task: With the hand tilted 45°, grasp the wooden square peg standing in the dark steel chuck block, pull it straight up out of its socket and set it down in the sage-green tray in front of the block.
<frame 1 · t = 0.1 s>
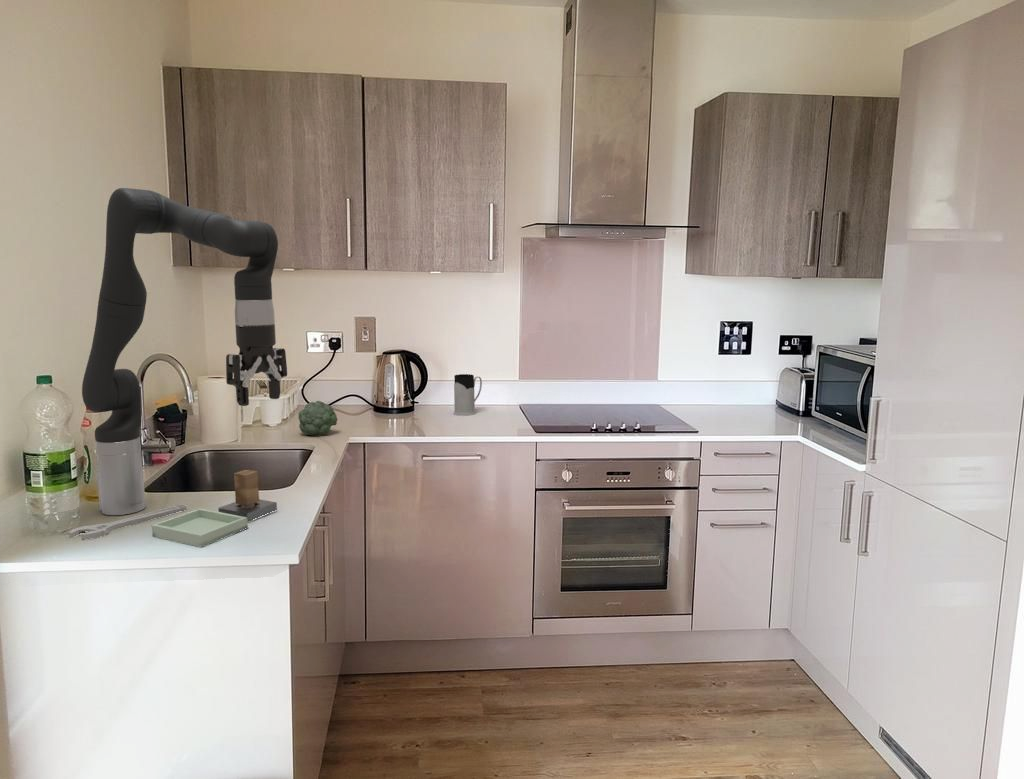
hand: (259, 402, 154), 29 cm above the worktop, tool pointing down, fingers open, 8 cm apart
adjustable wrench: (133, 526, 168), on the worktop
wooden square peg: (247, 493, 174), in the socket block
key tray: (200, 532, 163), on the worktop
grey black mug: (469, 413, 297), on the worktop
vegetable: (317, 434, 260), on the worktop
socket block: (248, 514, 174), on the worktop
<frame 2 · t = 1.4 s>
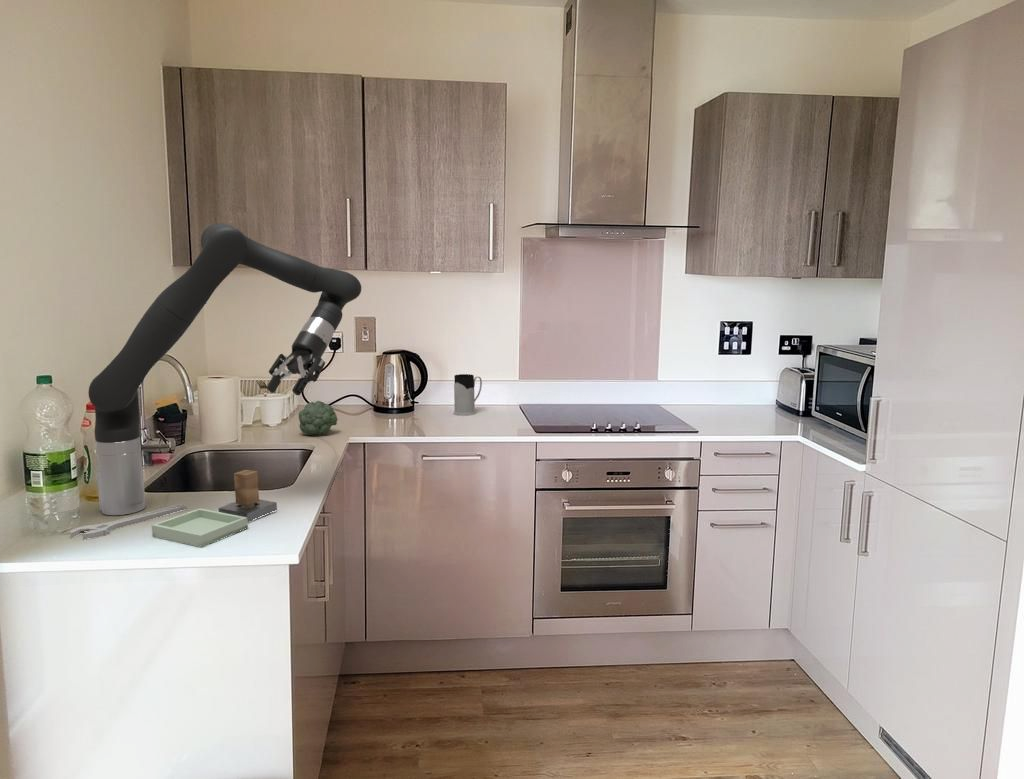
hand: (282, 392, 180), 27 cm above the worktop, tool tilted 45°, fingers open, 8 cm apart
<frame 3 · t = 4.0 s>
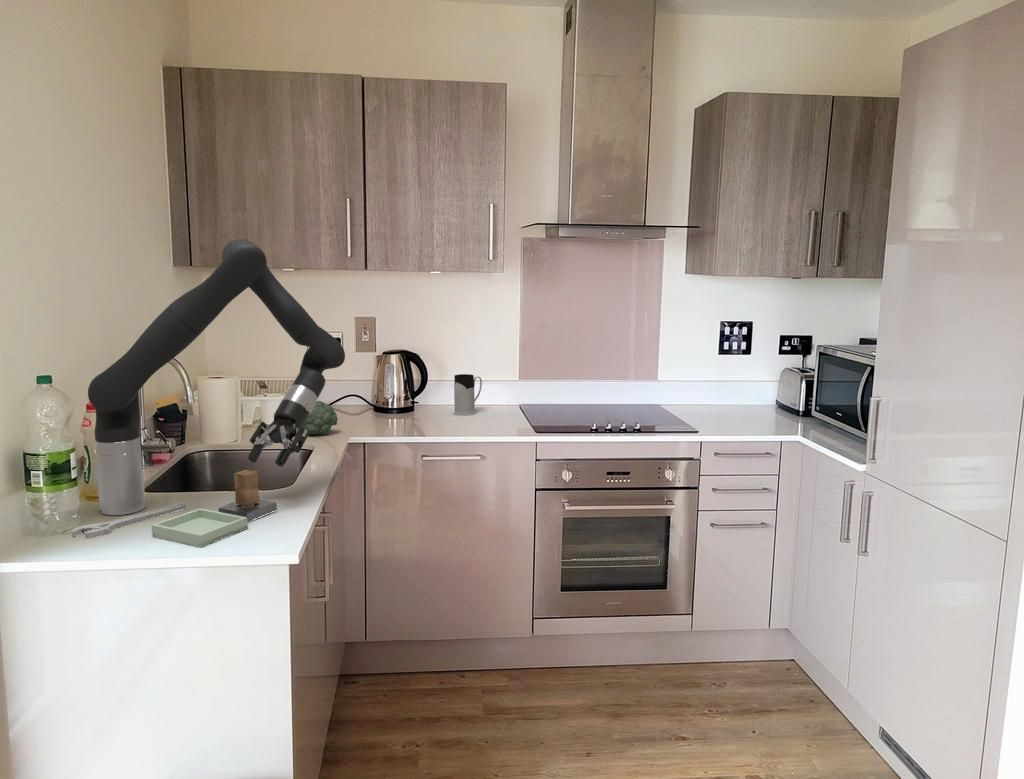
hand: (264, 462, 178), 11 cm above the worktop, tool tilted 45°, fingers open, 8 cm apart
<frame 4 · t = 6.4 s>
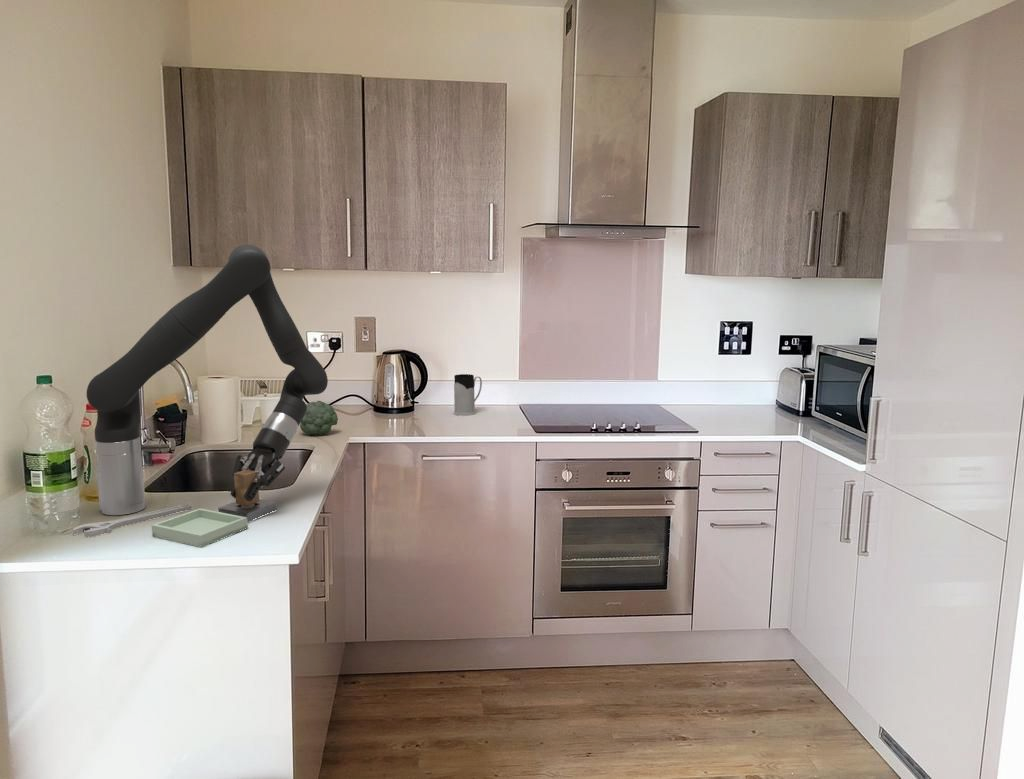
hand: (240, 497, 172), 5 cm above the worktop, tool tilted 45°, fingers closed on wooden square peg, 3 cm apart
wooden square peg: (247, 493, 174), in the socket block, touching gripper
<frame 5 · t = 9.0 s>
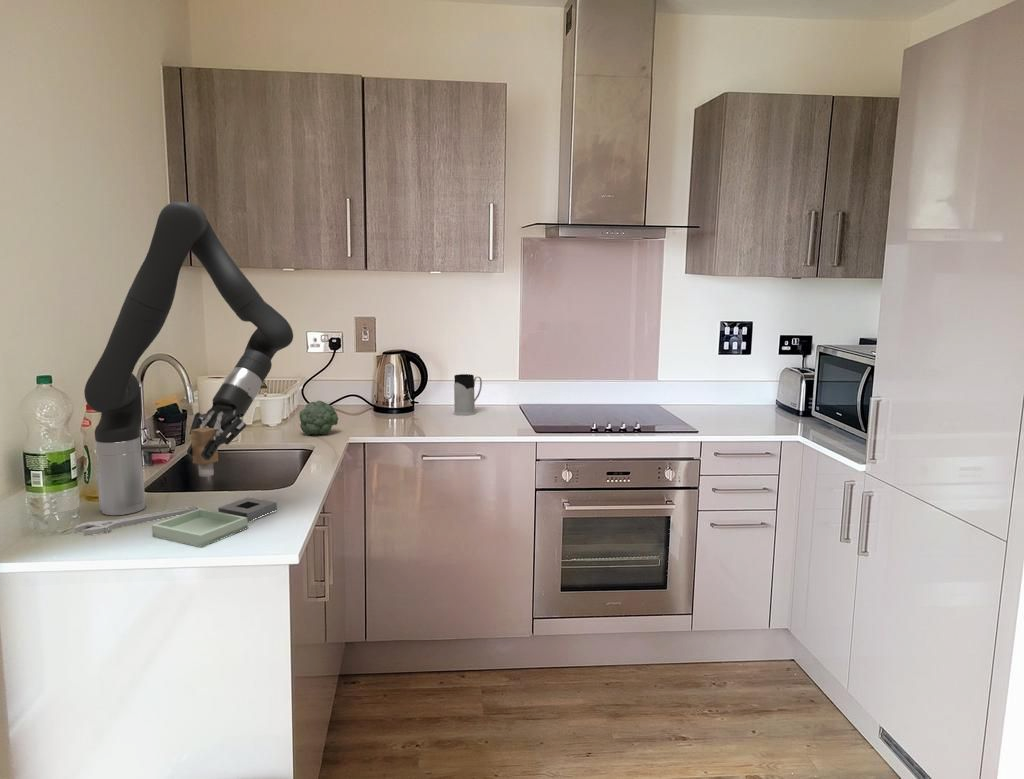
hand: (197, 456, 161), 17 cm above the worktop, tool tilted 45°, fingers closed on wooden square peg, 3 cm apart
wooden square peg: (205, 452, 162), point 17 cm above the worktop, touching gripper
when the fingers open (6 cm above the worktop, at t = 11.6 s): wooden square peg drops 1 cm, resting on key tray.
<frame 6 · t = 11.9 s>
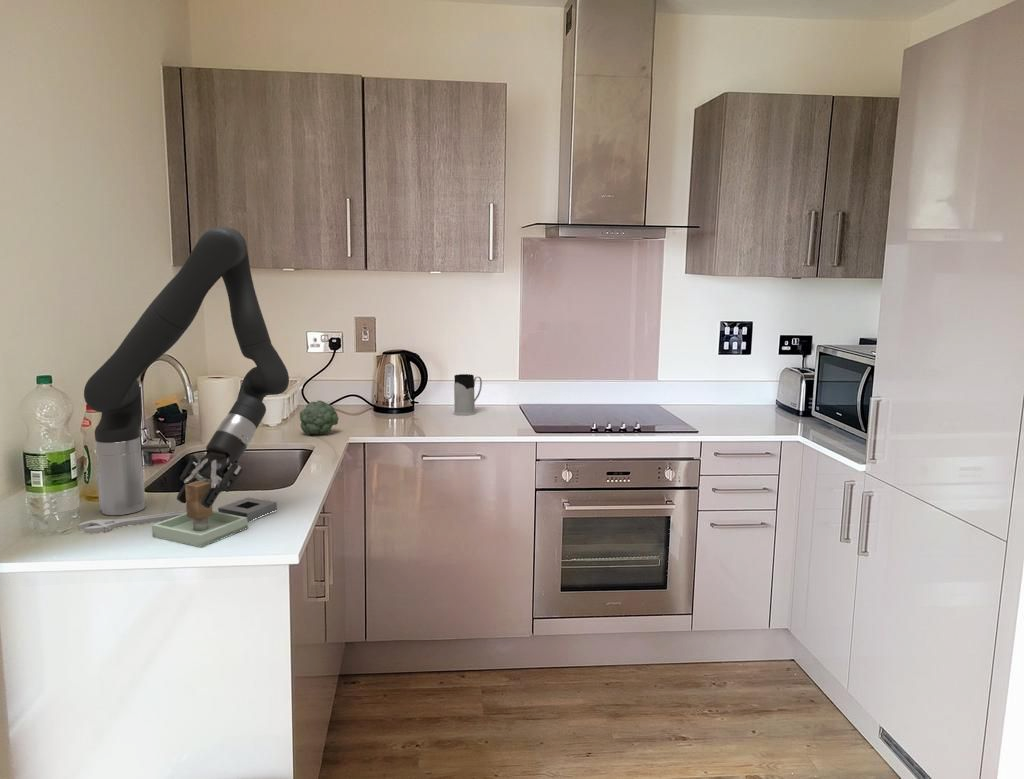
hand: (192, 503, 160), 7 cm above the worktop, tool tilted 45°, fingers open, 6 cm apart
wooden square peg: (199, 506, 162), in the key tray, point 6 cm above the worktop
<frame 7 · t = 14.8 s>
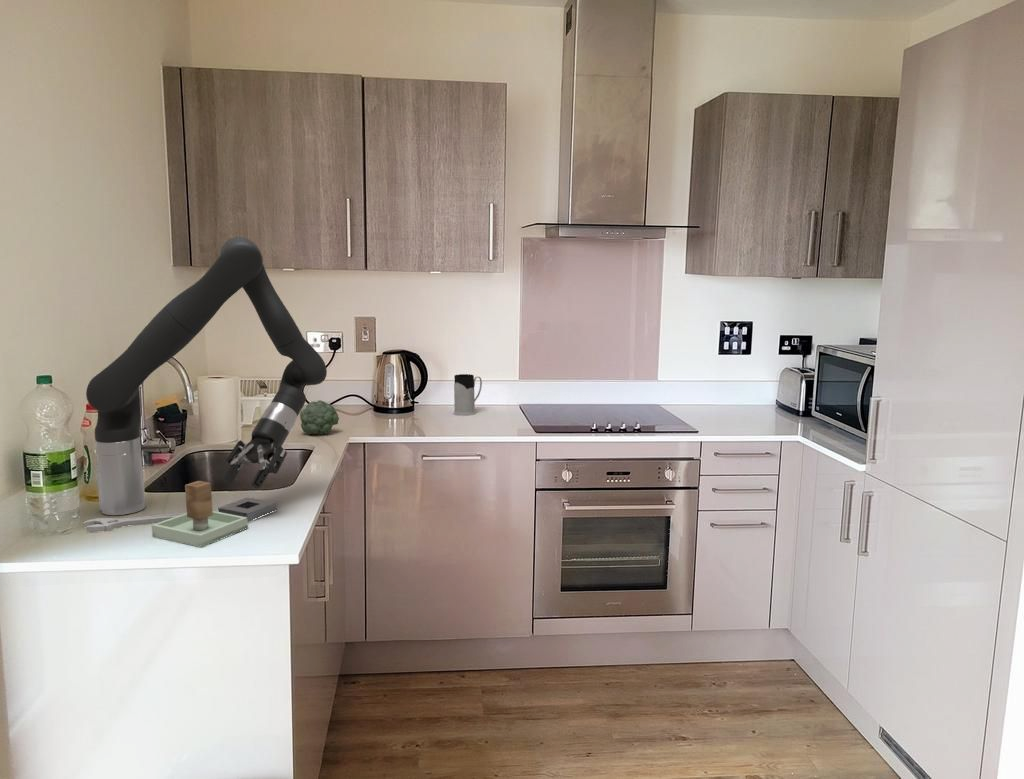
hand: (240, 484, 172), 8 cm above the worktop, tool tilted 45°, fingers open, 8 cm apart
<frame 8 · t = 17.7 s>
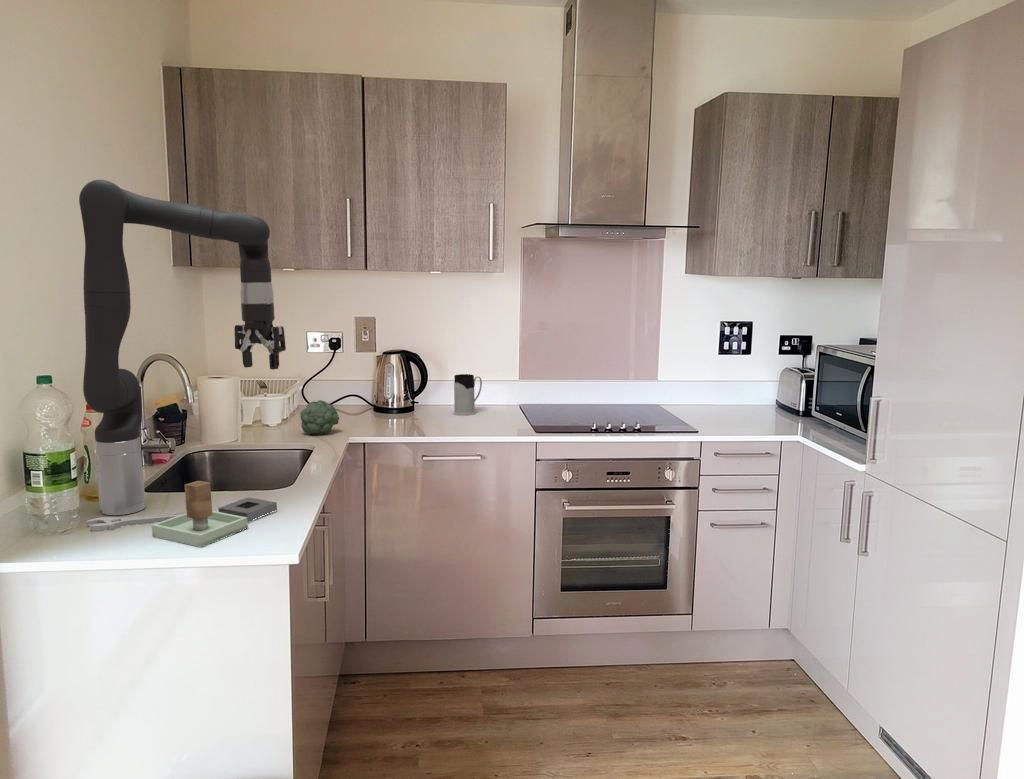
hand: (261, 368, 184), 32 cm above the worktop, tool pointing down, fingers open, 8 cm apart
at the end: wooden square peg inside the target area on the key tray (0.1 cm from its centre), point 5.8 cm above the key tray's base; the gripper is holding nothing; wooden square peg touching key tray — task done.
